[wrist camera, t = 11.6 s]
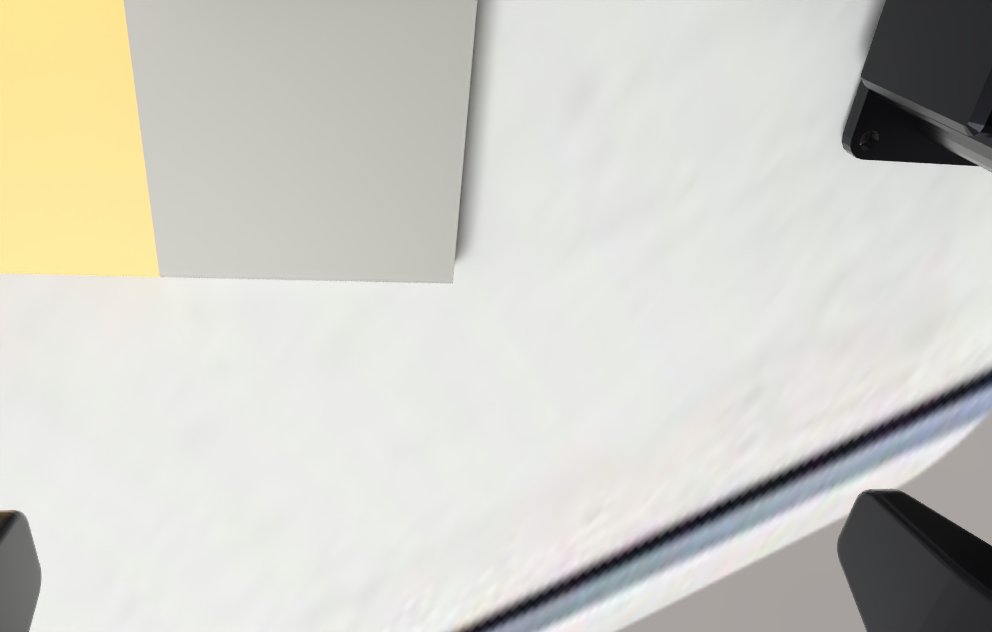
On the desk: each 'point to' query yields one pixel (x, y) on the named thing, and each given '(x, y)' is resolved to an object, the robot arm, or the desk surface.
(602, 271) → the desk surface
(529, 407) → the desk surface
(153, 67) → the grey flat board
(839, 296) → the desk surface
